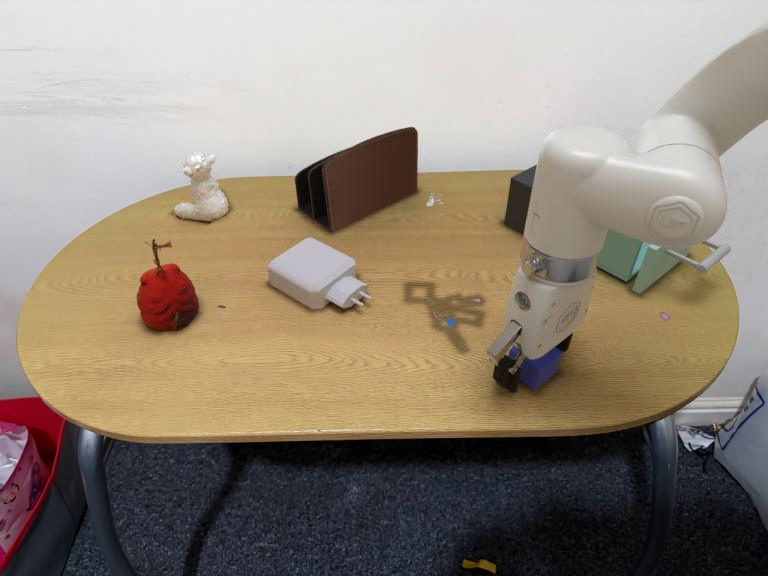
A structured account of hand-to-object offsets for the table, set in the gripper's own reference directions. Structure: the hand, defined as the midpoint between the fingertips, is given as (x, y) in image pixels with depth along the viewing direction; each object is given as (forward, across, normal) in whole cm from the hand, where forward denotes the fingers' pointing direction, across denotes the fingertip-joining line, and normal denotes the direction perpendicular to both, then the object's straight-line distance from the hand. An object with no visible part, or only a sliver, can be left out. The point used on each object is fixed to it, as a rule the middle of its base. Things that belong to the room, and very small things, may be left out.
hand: (530, 364), depth 65 cm
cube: (+2, 0, 0) cm, 2 cm away
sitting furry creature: (+3, -13, +60) cm, 62 cm away
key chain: (+2, +1, +14) cm, 14 cm away
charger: (+2, -10, +29) cm, 30 cm away
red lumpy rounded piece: (+2, -29, +38) cm, 48 cm away
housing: (+2, +29, +15) cm, 33 cm away
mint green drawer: (+1, +29, +3) cm, 29 cm away
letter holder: (+2, +9, +45) cm, 46 cm away
